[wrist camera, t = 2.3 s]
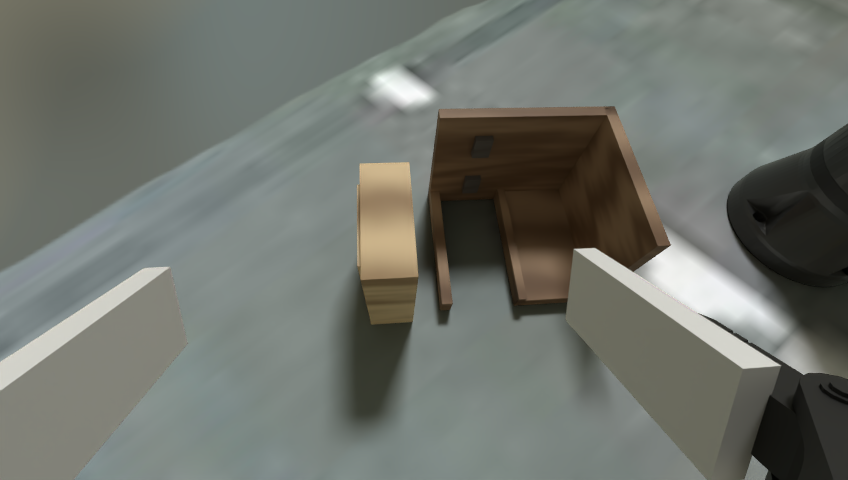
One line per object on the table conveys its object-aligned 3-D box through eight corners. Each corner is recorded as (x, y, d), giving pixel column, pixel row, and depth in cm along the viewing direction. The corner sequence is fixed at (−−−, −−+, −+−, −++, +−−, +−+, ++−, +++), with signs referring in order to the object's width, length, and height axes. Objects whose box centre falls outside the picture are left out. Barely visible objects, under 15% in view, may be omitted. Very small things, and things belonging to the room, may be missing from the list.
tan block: (412, 322, 38) (418, 276, 27) (368, 324, 38) (356, 280, 27) (406, 231, 42) (409, 162, 32) (366, 233, 42) (356, 163, 31)
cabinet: (591, 300, 40) (670, 245, 28) (440, 310, 39) (458, 255, 27) (560, 189, 46) (614, 106, 35) (428, 193, 45) (438, 109, 33)
